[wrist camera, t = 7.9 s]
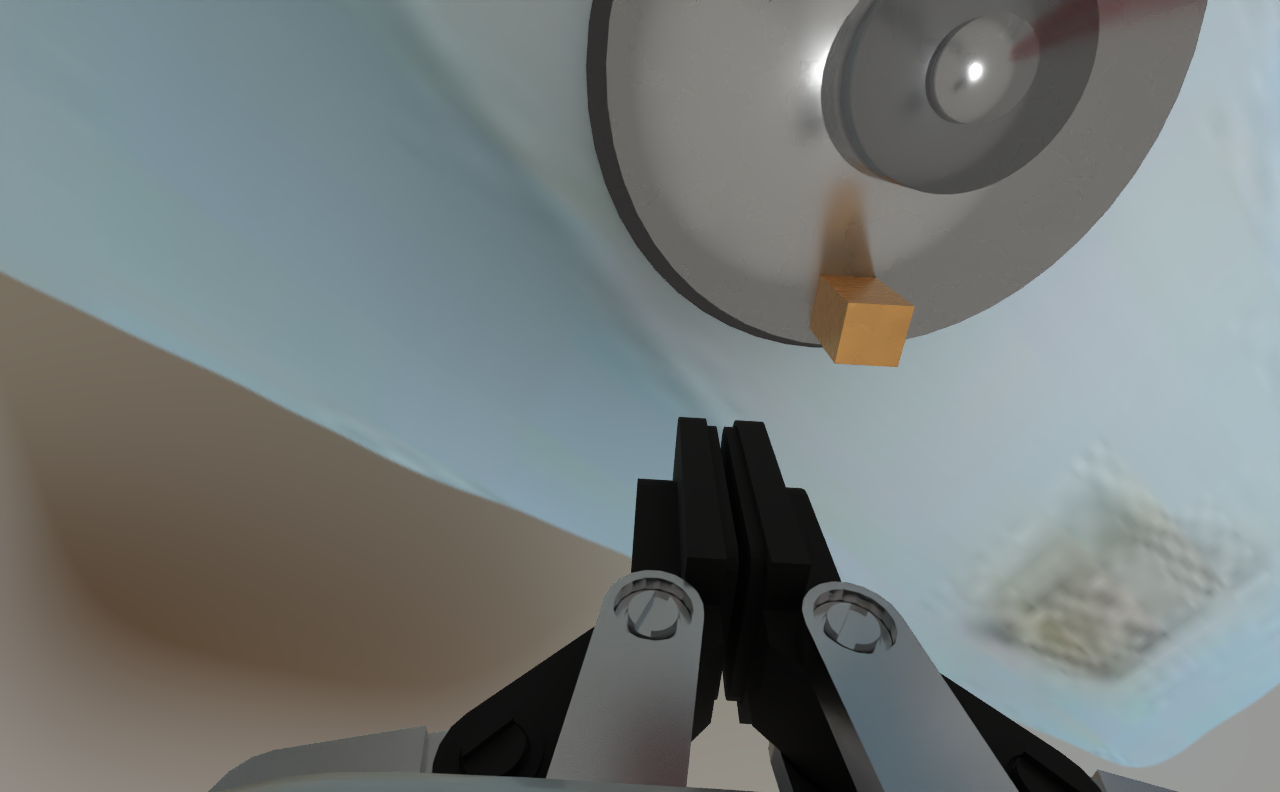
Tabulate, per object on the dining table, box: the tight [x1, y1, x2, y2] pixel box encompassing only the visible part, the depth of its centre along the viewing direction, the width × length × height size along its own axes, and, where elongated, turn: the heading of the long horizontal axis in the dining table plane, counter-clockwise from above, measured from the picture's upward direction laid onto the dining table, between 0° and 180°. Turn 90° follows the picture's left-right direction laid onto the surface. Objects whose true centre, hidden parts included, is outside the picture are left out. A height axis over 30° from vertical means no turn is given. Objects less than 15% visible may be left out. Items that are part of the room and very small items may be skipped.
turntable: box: [606, 0, 1207, 367], centre depth 19 cm, size 21×21×6 cm
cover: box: [821, 0, 1099, 194], centre depth 18 cm, size 7×7×5 cm
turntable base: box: [586, 0, 823, 347], centre depth 23 cm, size 23×23×1 cm
